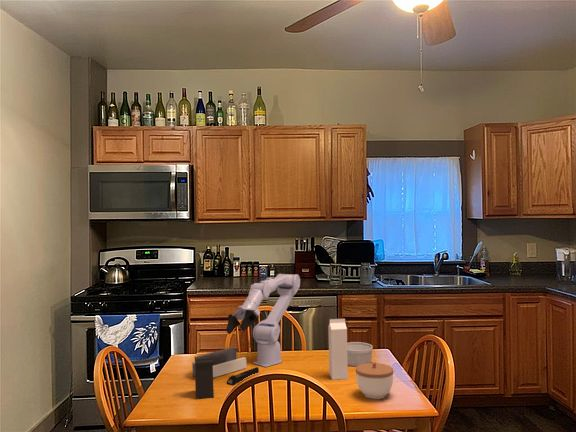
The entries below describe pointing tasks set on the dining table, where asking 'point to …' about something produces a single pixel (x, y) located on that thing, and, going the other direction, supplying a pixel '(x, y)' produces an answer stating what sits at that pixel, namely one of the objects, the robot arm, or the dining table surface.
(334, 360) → the milk
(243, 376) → the electric trimmer
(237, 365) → the pad
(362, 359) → the ramekin
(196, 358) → the tester frame
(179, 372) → the dining table surface
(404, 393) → the dining table surface
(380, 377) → the lidded bowl
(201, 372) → the phone stand
